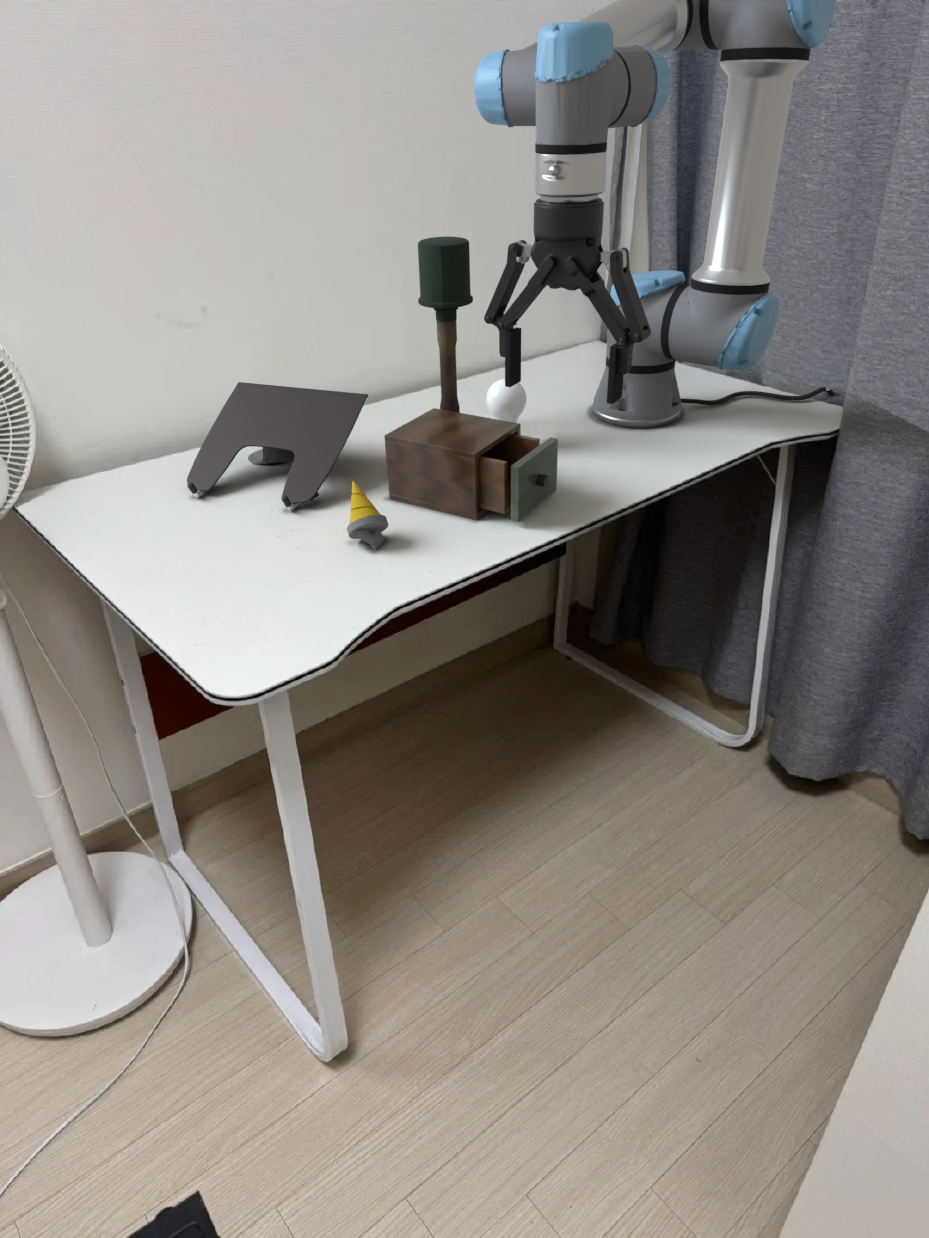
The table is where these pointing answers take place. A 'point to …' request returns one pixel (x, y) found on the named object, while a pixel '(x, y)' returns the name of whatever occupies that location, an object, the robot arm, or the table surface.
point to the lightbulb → (506, 401)
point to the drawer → (517, 475)
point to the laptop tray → (279, 435)
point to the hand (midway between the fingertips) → (562, 392)
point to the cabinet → (442, 459)
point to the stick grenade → (445, 301)
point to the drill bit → (365, 519)
